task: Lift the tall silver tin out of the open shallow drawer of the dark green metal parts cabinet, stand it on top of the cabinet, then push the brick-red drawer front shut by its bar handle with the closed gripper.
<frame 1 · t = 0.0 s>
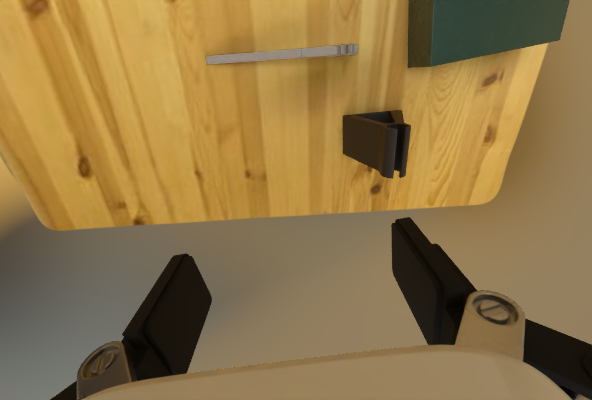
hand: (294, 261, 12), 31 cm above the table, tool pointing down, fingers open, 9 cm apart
caliper: (279, 56, 35), on the table
phone stand: (370, 132, 40), on the table
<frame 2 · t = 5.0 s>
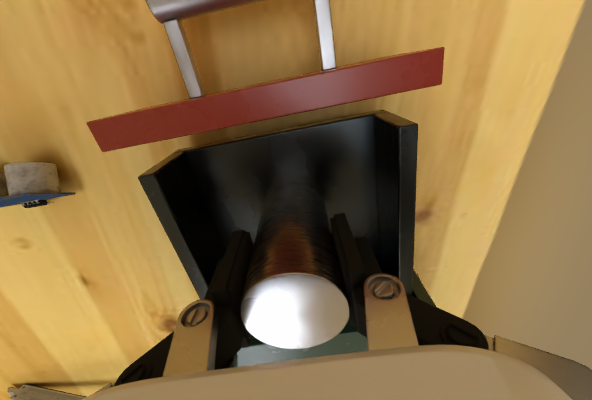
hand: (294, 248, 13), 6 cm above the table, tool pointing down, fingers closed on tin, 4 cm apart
ultrasonic sensor: (34, 180, 17), on the table
tin: (294, 212, 16), point 2 cm above the table, touching drawer, gripper
caliper: (105, 380, 28), on the table
cabinet: (322, 330, 24), on the table
drawer: (289, 202, 14), point 3 cm above the table, slide at 12.0 cm, touching tin
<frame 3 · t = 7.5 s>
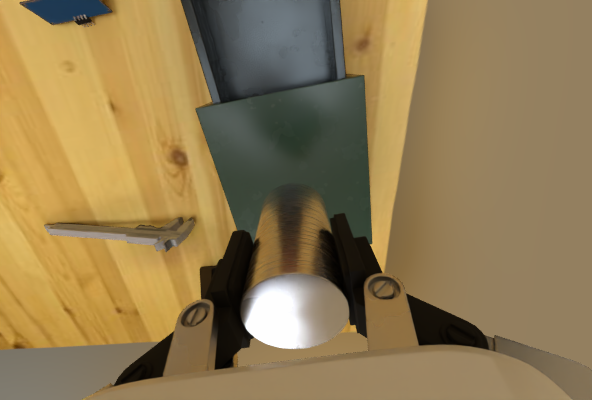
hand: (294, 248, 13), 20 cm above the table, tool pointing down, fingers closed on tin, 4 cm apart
ultrasonic sensor: (82, 5, 24), on the table
tin: (293, 211, 16), point 16 cm above the table, touching gripper
caliper: (122, 222, 35), on the table
phone stand: (233, 278, 40), on the table
cabinet: (295, 164, 31), on the table
when the fingers open (10 cm above the table, at t = 10.3 s): tin stays where it is, resting on cabinet.
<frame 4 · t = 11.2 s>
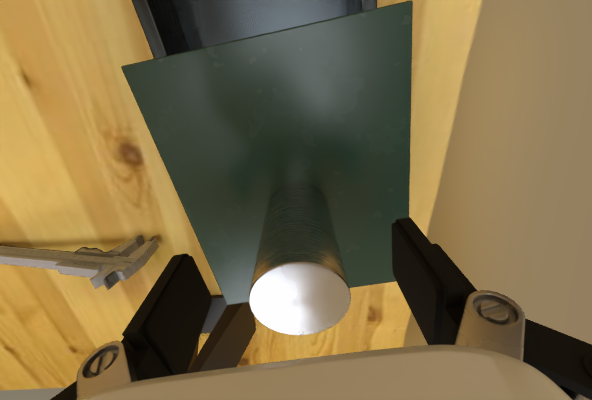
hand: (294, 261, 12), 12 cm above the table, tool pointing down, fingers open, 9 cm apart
tin: (297, 209, 16), point 7 cm above the table, touching cabinet
caliper: (64, 242, 26), on the table
phone stand: (216, 311, 31), on the table
cabinet: (294, 162, 22), on the table
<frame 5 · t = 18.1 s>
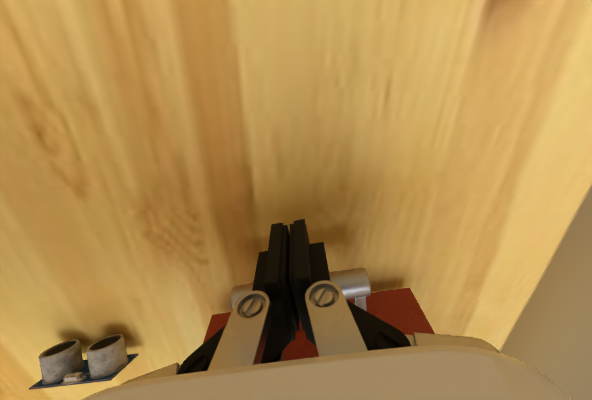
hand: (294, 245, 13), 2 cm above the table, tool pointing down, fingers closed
ultrasonic sensor: (101, 340, 20), on the table
drawer: (323, 390, 17), point 3 cm above the table, slide at 11.5 cm
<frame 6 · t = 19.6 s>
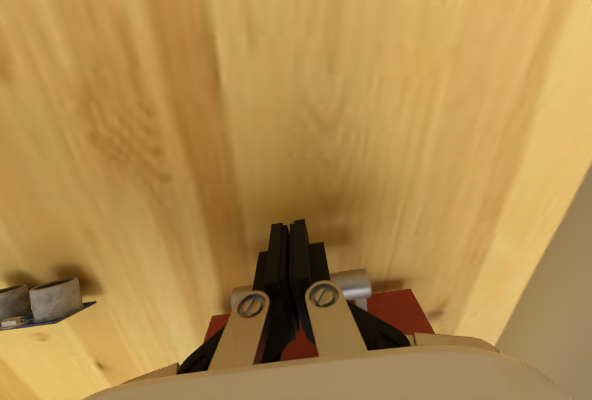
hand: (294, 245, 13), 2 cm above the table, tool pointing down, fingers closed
ultrasonic sensor: (55, 286, 17), on the table
drawer: (324, 391, 17), point 3 cm above the table, slide at 5.5 cm, touching gripper
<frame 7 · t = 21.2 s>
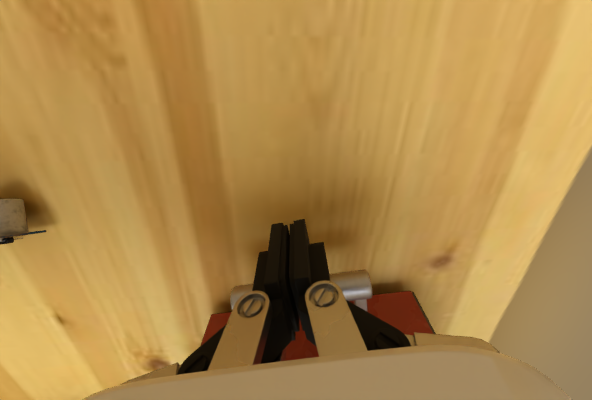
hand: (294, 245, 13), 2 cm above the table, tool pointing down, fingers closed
ultrasonic sensor: (0, 214, 15), on the table
drawer: (322, 392, 17), point 3 cm above the table, slide at 0.0 cm, touching cabinet, gripper
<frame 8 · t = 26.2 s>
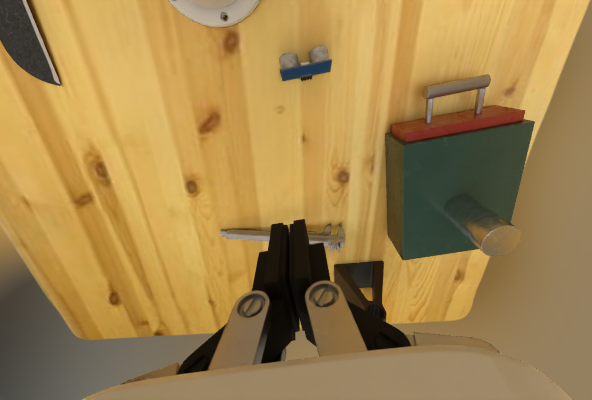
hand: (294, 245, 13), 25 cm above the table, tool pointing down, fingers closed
ultrasonic sensor: (304, 66, 31), on the table
tin: (459, 207, 33), point 7 cm above the table, touching cabinet
caliper: (281, 228, 42), on the table
phone stand: (357, 274, 47), on the table
cabinet: (434, 180, 38), on the table
drawer: (448, 164, 34), point 3 cm above the table, slide at 0.0 cm, touching cabinet
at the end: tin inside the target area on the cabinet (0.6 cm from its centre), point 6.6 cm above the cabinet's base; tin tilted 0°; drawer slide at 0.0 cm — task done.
